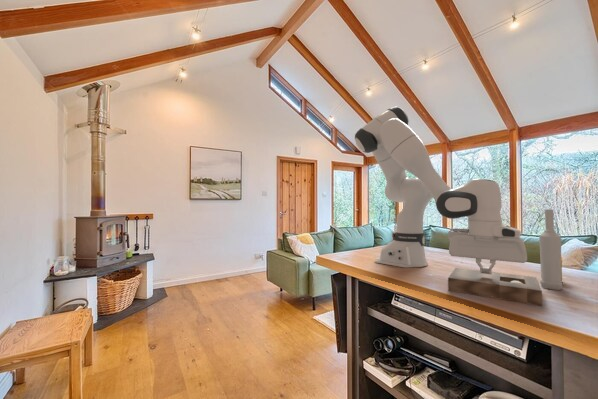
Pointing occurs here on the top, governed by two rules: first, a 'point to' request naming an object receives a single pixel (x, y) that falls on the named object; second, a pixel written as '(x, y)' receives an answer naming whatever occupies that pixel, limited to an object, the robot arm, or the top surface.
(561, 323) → the top surface
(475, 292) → the board
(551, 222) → the bottle
